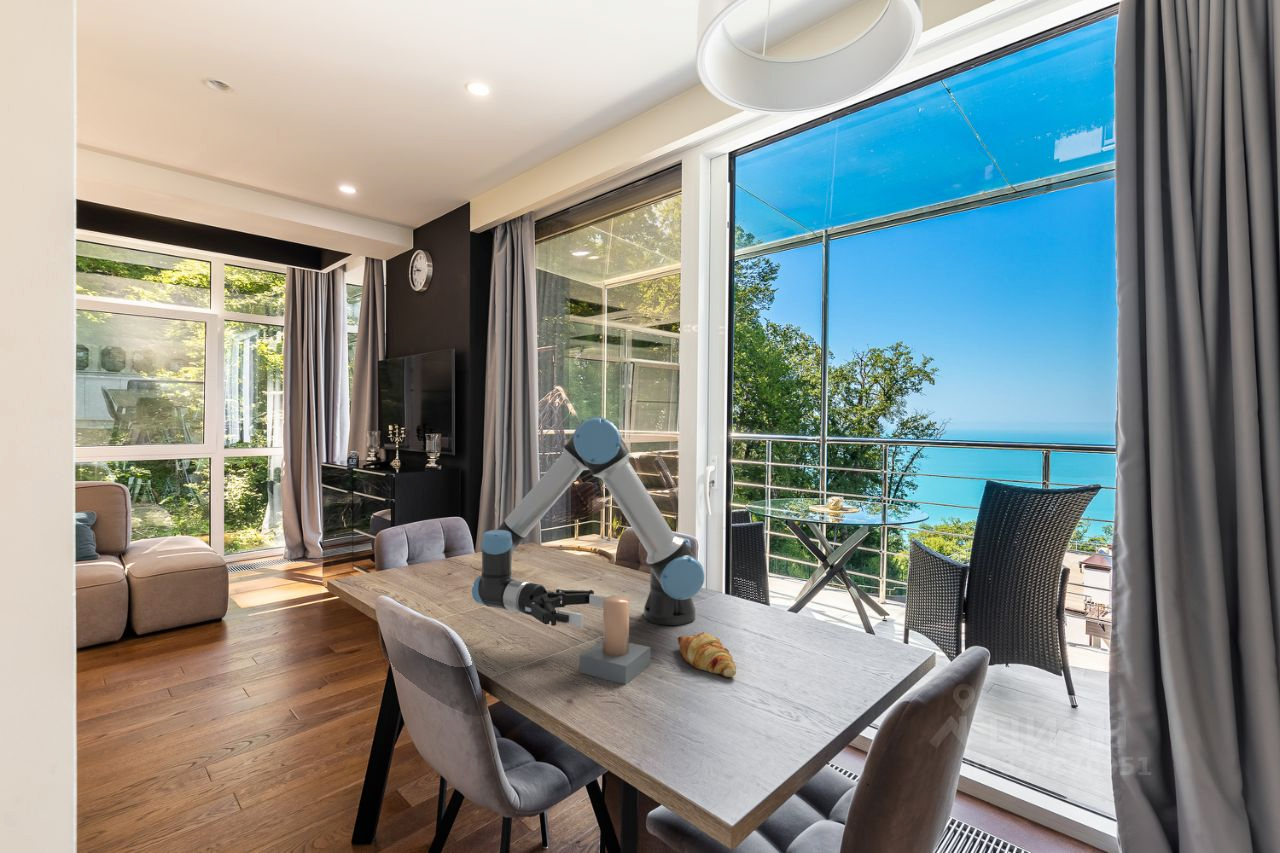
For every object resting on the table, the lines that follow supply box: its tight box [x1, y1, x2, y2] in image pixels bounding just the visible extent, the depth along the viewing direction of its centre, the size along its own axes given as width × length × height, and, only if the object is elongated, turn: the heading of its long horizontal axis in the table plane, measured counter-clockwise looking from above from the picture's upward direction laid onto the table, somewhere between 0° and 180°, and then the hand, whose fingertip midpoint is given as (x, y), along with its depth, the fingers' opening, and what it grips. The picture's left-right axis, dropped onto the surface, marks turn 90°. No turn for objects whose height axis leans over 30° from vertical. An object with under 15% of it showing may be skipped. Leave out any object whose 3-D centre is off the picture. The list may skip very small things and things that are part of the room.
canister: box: [602, 595, 630, 656], centre depth 134 cm, size 6×6×12 cm
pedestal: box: [579, 640, 652, 685], centre depth 134 cm, size 12×12×4 cm
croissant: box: [677, 632, 737, 678], centre depth 138 cm, size 21×10×8 cm, turn 32°
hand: (598, 611), depth 136 cm, fingers open, 13 cm apart
